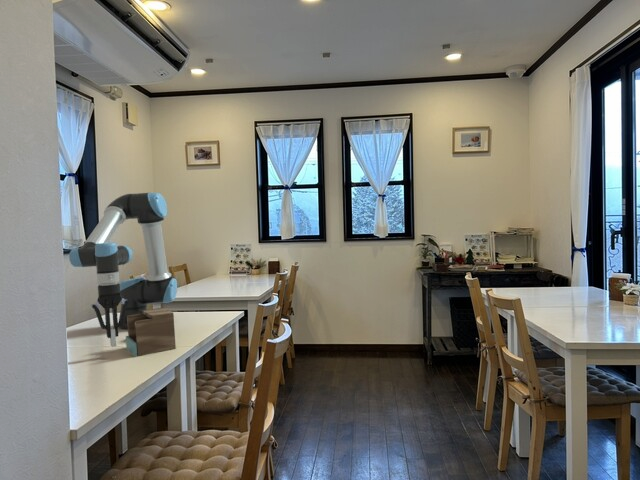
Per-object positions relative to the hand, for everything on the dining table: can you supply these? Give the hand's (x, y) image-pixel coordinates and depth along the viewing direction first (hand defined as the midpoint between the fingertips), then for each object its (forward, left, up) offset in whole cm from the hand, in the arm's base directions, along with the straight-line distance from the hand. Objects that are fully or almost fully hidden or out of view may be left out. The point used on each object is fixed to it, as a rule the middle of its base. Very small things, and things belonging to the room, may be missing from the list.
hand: (113, 345), depth 172 cm
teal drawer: (0, +13, -4) cm, 13 cm away
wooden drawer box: (0, +14, -4) cm, 14 cm away
